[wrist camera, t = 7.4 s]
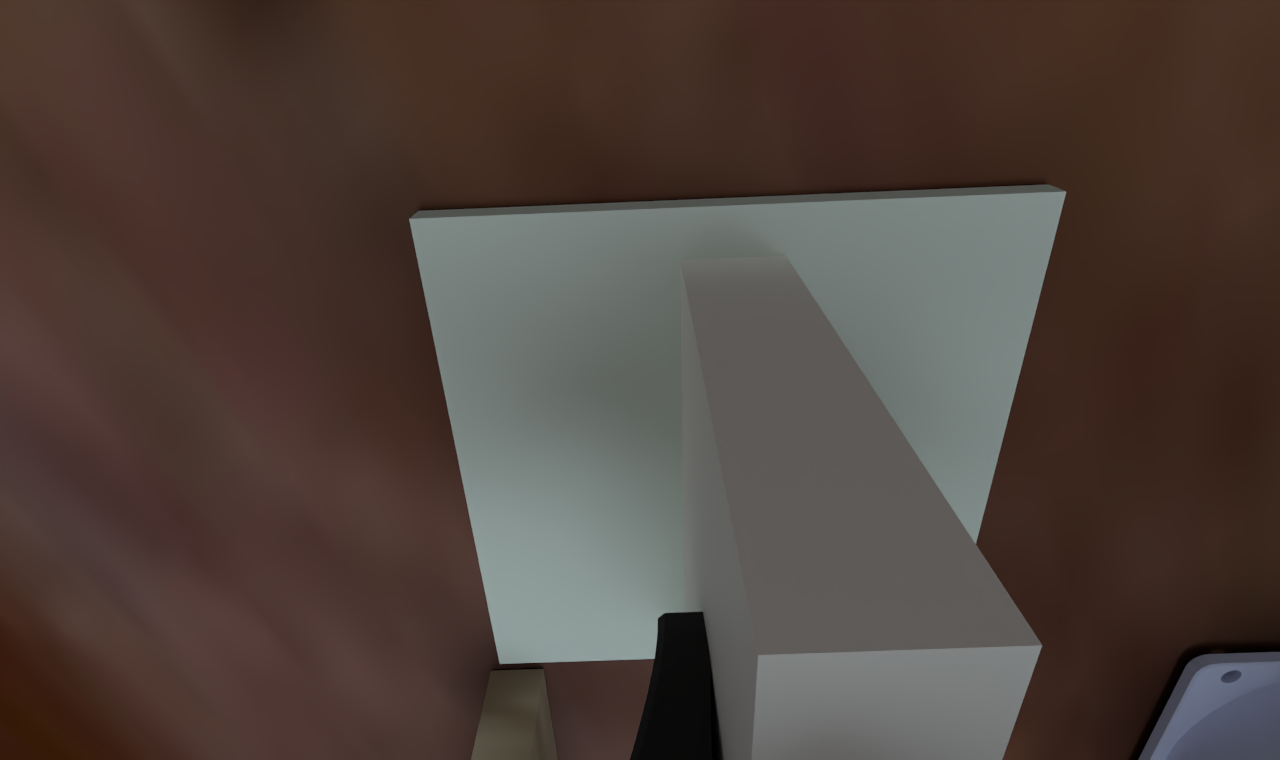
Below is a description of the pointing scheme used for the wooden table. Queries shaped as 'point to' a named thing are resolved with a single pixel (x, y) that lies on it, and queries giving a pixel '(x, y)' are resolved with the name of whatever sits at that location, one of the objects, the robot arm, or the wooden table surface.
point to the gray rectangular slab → (827, 546)
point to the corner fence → (515, 718)
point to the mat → (652, 373)
